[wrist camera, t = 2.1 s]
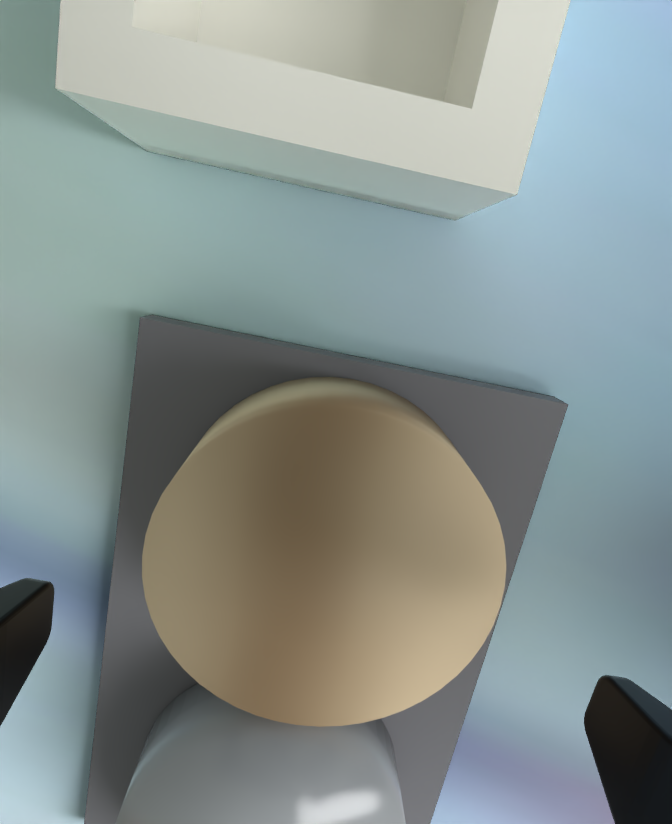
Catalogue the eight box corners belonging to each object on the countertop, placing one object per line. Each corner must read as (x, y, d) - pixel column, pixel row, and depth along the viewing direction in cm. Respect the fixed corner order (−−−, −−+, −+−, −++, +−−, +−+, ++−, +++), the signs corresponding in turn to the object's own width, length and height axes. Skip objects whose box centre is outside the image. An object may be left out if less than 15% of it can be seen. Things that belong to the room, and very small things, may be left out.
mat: (553, 396, 13) (568, 404, 12) (403, 865, 17) (406, 893, 16) (151, 314, 12) (140, 317, 12) (93, 822, 16) (81, 850, 15)
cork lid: (503, 404, 12) (549, 440, 10) (435, 659, 14) (458, 744, 12) (193, 352, 12) (156, 376, 9) (166, 623, 14) (129, 704, 11)
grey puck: (419, 683, 14) (436, 756, 12) (370, 874, 16) (378, 967, 14) (151, 651, 14) (120, 722, 11) (133, 853, 15) (103, 945, 13)
